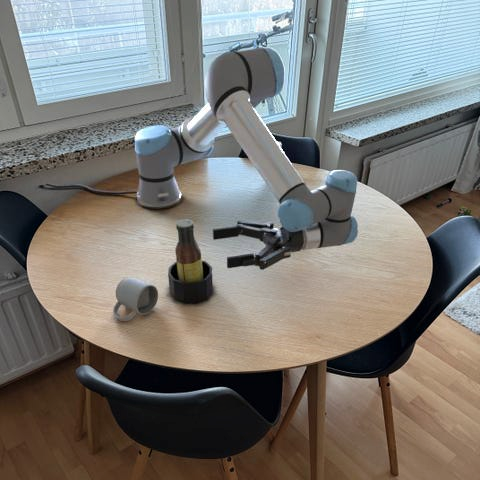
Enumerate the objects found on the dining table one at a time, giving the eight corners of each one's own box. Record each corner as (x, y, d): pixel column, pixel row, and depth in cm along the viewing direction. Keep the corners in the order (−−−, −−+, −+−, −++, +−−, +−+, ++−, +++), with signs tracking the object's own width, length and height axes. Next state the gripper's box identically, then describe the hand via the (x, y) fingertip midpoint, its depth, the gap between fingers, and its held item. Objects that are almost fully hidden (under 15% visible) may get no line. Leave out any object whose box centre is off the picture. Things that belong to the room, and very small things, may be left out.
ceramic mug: (136, 293, 113) (131, 268, 108) (160, 304, 110) (156, 279, 105) (106, 315, 107) (99, 291, 102) (131, 328, 103) (125, 303, 98)
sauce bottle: (208, 287, 116) (205, 220, 103) (196, 301, 111) (192, 232, 98) (186, 281, 118) (181, 214, 105) (174, 294, 113) (167, 225, 100)
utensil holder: (162, 296, 113) (159, 275, 108) (185, 274, 120) (183, 254, 116) (198, 309, 109) (197, 288, 105) (220, 285, 116) (219, 265, 112)
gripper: (317, 275, 107) (234, 289, 102) (280, 226, 125) (208, 236, 120) (321, 249, 102) (234, 262, 97) (283, 201, 120) (207, 211, 115)
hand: (219, 248), depth 109 cm, fingers open, 13 cm apart
